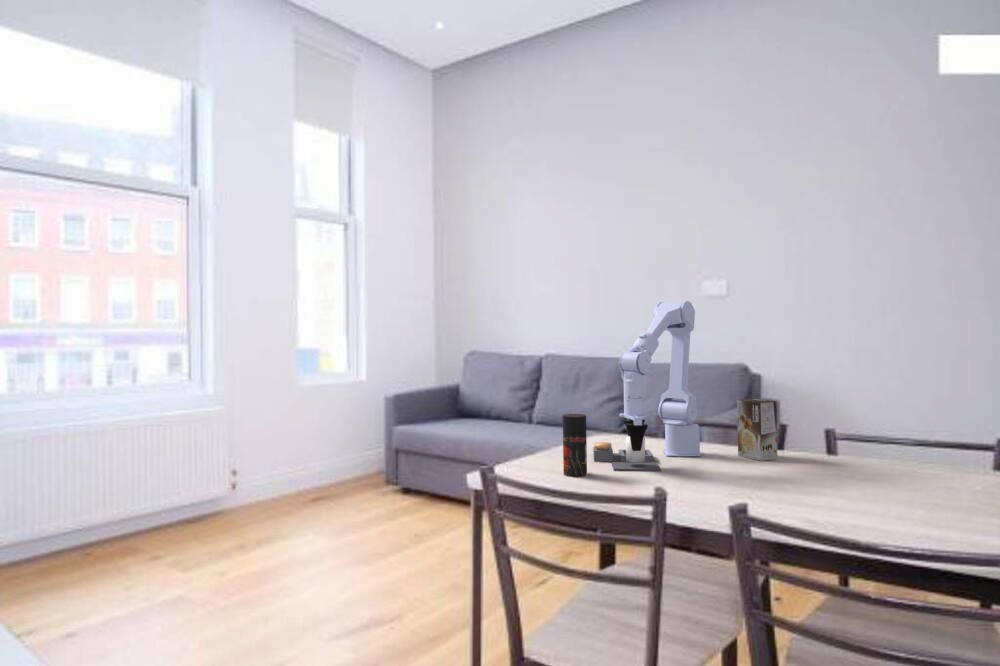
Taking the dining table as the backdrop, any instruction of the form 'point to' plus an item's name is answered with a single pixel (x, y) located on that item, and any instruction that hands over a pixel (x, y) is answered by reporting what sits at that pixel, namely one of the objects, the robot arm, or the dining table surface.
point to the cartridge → (634, 452)
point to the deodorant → (574, 445)
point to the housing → (616, 455)
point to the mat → (635, 466)
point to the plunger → (602, 445)
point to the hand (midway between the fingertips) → (635, 448)
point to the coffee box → (757, 429)
